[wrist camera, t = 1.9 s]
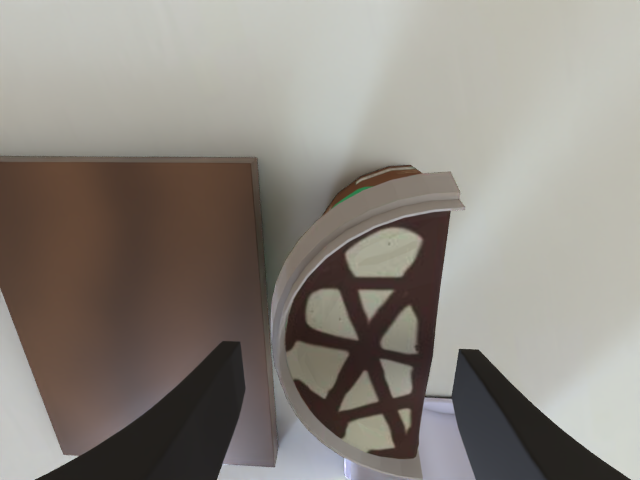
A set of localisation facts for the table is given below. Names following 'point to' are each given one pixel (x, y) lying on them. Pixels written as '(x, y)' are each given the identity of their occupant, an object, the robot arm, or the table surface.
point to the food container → (366, 316)
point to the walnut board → (136, 287)
